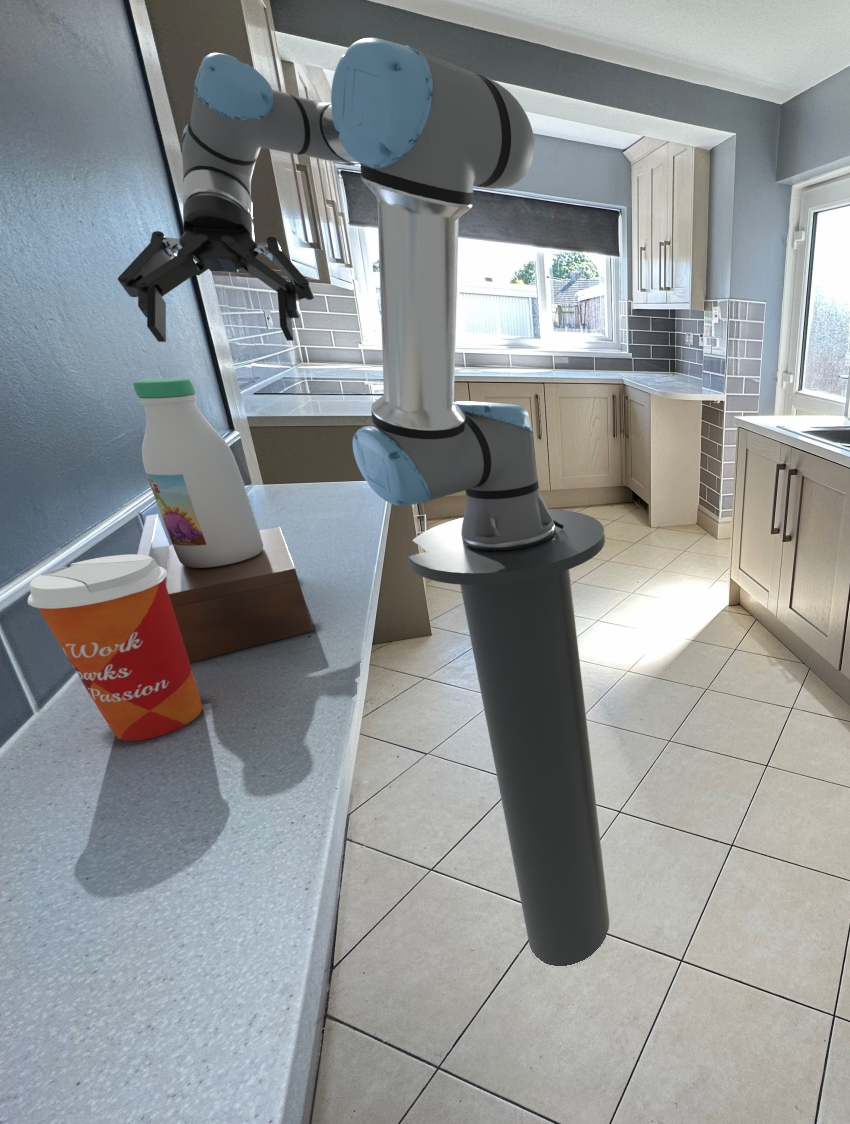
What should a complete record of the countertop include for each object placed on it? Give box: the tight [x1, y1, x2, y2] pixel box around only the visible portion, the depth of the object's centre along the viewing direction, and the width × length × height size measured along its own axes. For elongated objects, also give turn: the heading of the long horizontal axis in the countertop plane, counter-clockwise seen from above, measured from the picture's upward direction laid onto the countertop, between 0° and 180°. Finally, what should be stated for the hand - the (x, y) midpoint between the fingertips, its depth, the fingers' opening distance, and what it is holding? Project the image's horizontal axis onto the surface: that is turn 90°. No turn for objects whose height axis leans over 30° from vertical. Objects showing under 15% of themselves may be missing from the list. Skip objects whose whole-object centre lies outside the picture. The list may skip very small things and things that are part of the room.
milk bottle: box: [132, 377, 263, 568], centre depth 67 cm, size 8×8×20 cm
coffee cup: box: [27, 554, 203, 742], centre depth 53 cm, size 8×8×15 cm
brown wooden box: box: [137, 513, 315, 664], centre depth 72 cm, size 12×18×12 cm, turn 40°
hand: (224, 334), depth 80 cm, fingers open, 13 cm apart
